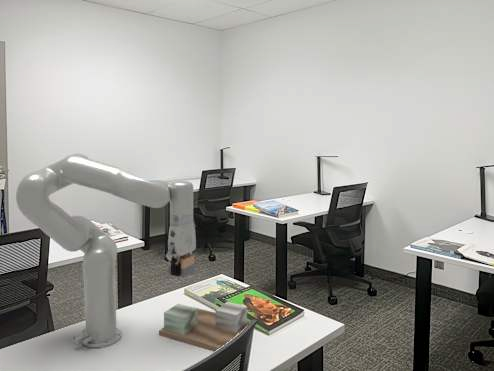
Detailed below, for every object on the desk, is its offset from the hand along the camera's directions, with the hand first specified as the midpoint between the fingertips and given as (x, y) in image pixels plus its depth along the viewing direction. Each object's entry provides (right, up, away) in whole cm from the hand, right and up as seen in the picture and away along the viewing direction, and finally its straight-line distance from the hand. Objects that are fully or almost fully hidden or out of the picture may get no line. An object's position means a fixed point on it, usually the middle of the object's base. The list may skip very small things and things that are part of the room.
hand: (181, 271), depth 141 cm
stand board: (+8, -21, +4) cm, 23 cm away
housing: (0, 0, 0) cm, 1 cm away
